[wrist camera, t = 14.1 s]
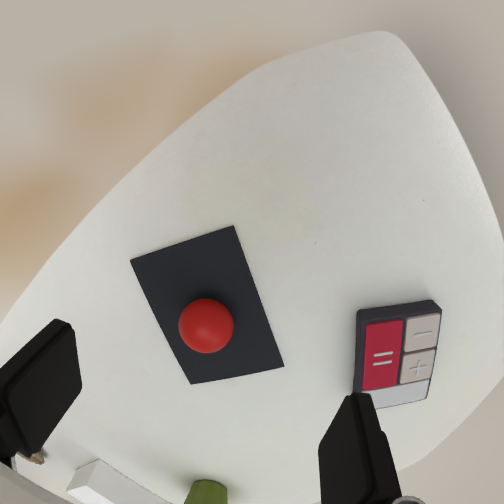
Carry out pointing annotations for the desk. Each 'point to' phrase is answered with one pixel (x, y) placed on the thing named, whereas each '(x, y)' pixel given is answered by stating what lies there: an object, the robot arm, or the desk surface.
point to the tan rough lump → (34, 458)
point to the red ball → (206, 325)
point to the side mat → (209, 287)
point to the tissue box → (108, 487)
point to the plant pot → (207, 493)
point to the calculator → (396, 352)
